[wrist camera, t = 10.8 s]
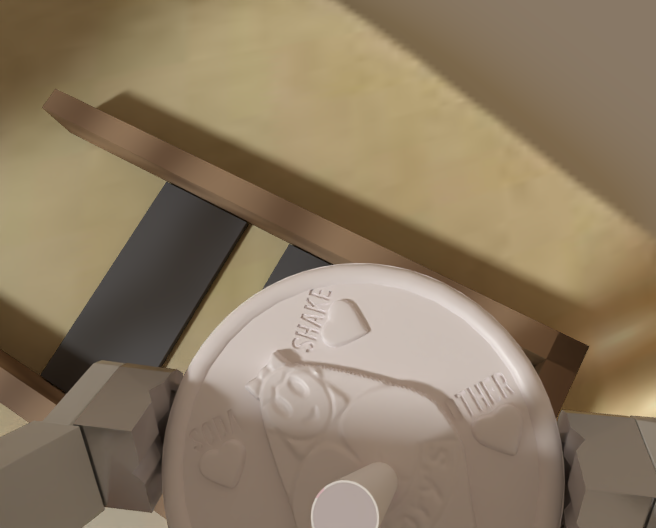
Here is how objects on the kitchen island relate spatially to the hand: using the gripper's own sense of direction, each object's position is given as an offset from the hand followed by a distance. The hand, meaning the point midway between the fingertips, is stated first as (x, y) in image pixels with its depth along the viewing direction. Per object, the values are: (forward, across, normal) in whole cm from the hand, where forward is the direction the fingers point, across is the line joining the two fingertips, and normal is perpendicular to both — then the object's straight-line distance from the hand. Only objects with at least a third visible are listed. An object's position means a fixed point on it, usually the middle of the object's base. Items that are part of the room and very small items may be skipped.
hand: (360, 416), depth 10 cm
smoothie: (+6, 0, +7) cm, 9 cm away
